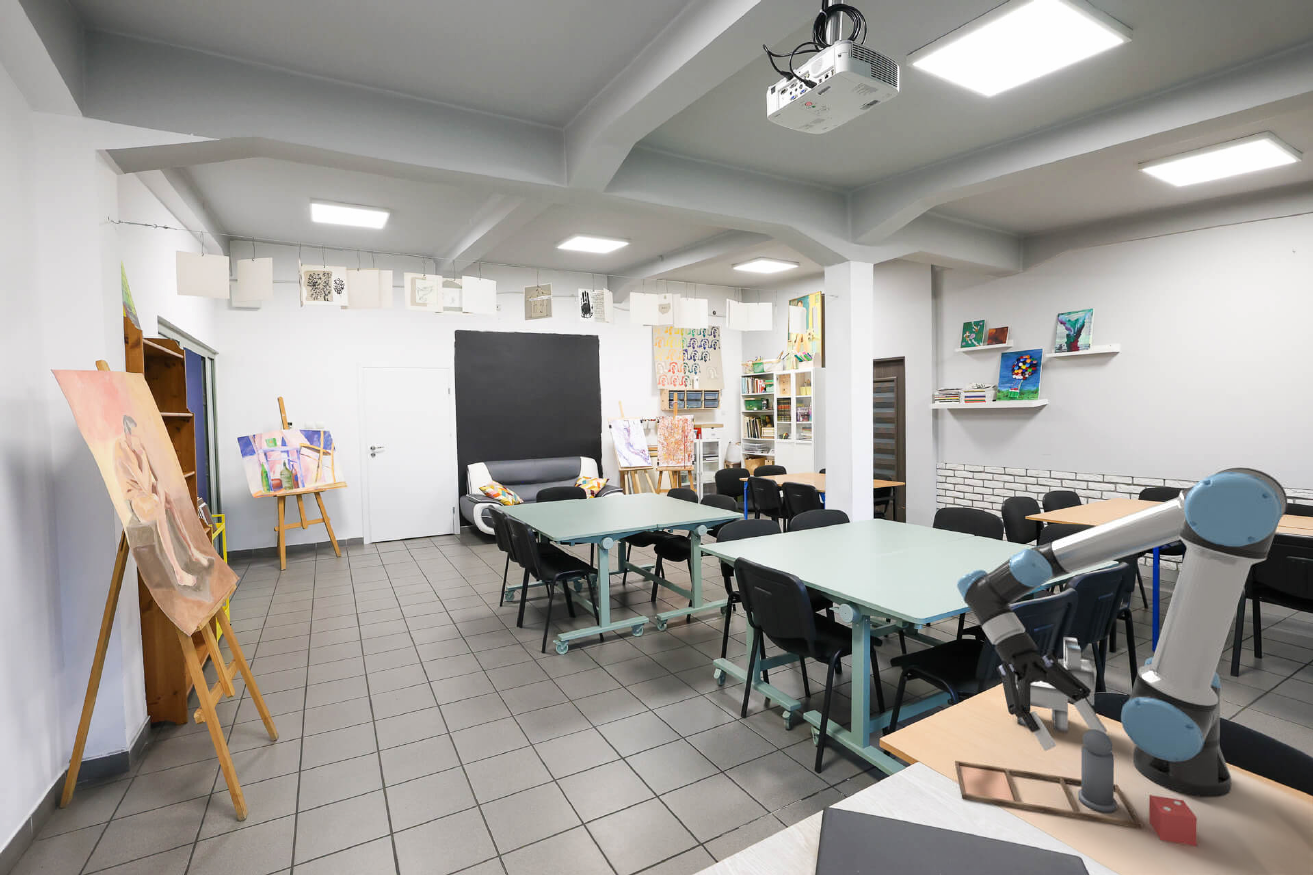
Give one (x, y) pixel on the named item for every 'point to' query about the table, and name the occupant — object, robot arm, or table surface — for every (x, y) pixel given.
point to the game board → (995, 789)
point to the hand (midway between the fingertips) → (1076, 741)
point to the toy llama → (1057, 700)
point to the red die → (1173, 820)
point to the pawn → (1097, 772)
